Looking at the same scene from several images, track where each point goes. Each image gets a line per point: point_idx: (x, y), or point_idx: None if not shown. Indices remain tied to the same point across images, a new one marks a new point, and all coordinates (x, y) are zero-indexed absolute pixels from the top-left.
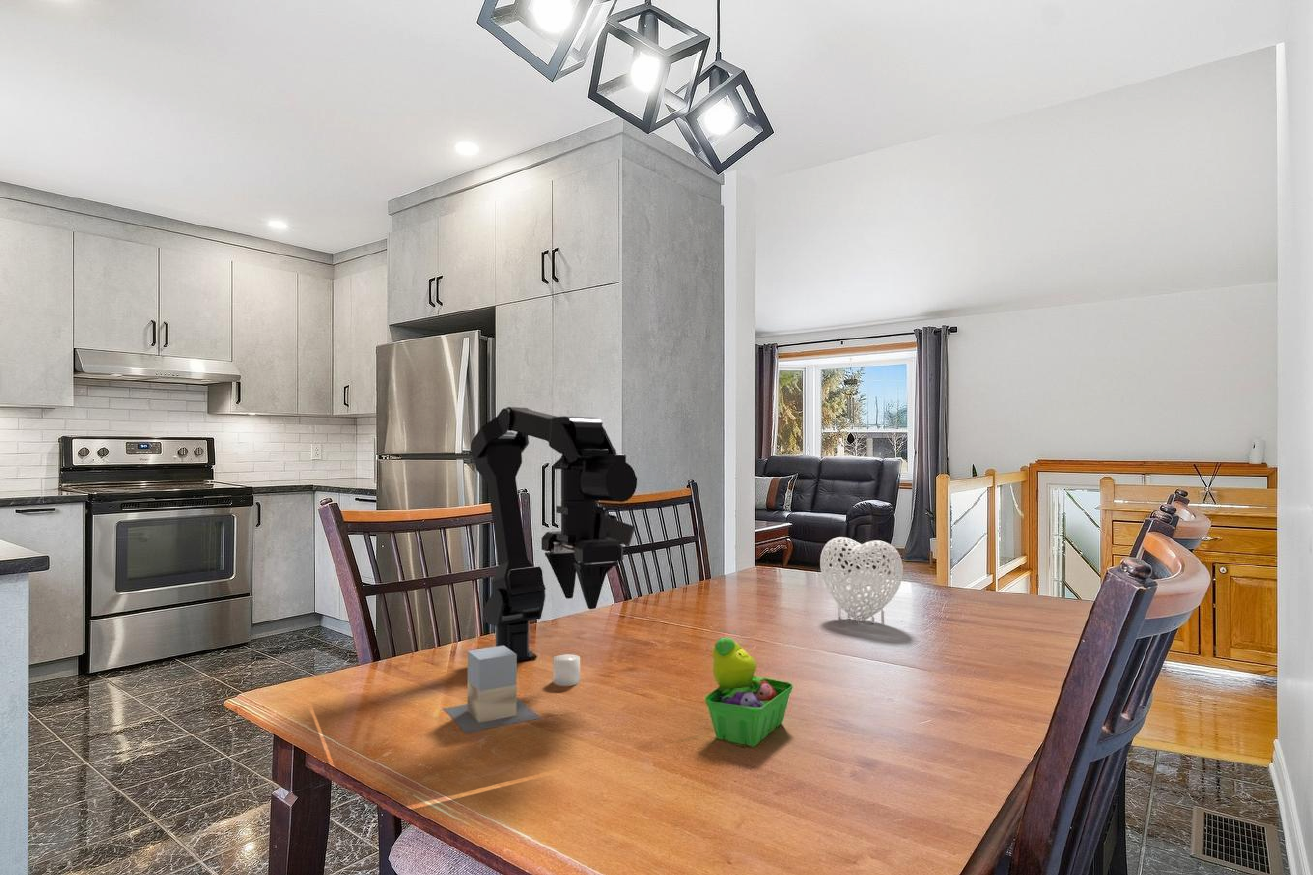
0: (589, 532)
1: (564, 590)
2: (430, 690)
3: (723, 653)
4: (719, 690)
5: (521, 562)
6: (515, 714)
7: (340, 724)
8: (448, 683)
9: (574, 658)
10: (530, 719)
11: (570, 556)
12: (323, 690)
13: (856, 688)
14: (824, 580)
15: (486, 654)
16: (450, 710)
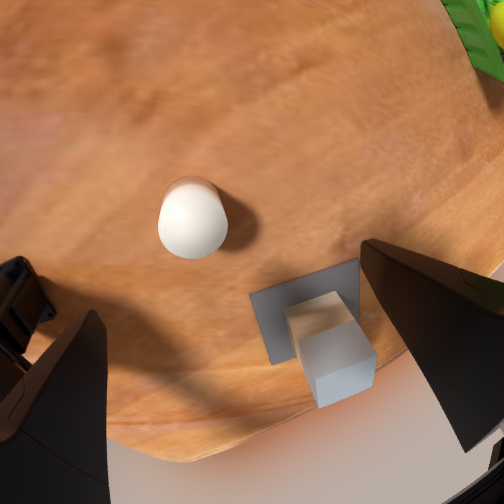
0: None
1: (107, 364)
2: (181, 383)
3: None
4: (500, 50)
5: None
6: (335, 292)
7: (270, 416)
8: (152, 370)
9: (202, 210)
10: (357, 273)
11: (37, 500)
12: (167, 440)
13: None
14: None
15: (353, 386)
16: (281, 358)
